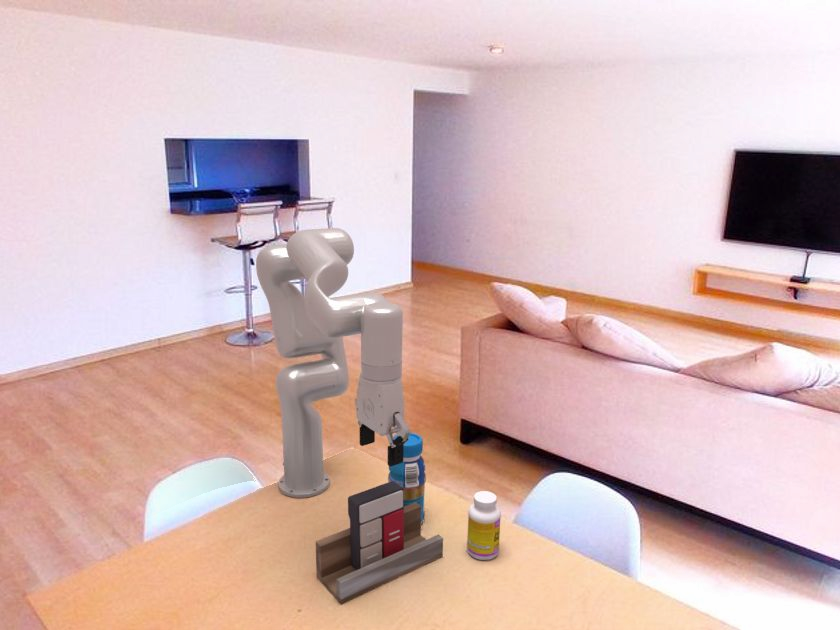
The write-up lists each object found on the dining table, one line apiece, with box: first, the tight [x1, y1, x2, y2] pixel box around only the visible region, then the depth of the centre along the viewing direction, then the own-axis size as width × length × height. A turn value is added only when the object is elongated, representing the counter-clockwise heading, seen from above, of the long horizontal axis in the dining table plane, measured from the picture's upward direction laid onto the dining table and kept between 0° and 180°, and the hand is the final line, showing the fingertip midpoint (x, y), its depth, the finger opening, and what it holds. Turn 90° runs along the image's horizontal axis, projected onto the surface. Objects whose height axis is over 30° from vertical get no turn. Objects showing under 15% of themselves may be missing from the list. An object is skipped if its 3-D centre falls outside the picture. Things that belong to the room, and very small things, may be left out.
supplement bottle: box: [466, 490, 502, 561], centre depth 131 cm, size 7×7×13 cm
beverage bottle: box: [387, 432, 427, 524], centre depth 141 cm, size 8×8×20 cm
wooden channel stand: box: [315, 502, 444, 605], centre depth 126 cm, size 10×24×8 cm, turn 127°
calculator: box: [347, 481, 404, 570], centre depth 126 cm, size 11×4×15 cm, turn 127°
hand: (380, 453), depth 121 cm, fingers open, 9 cm apart
